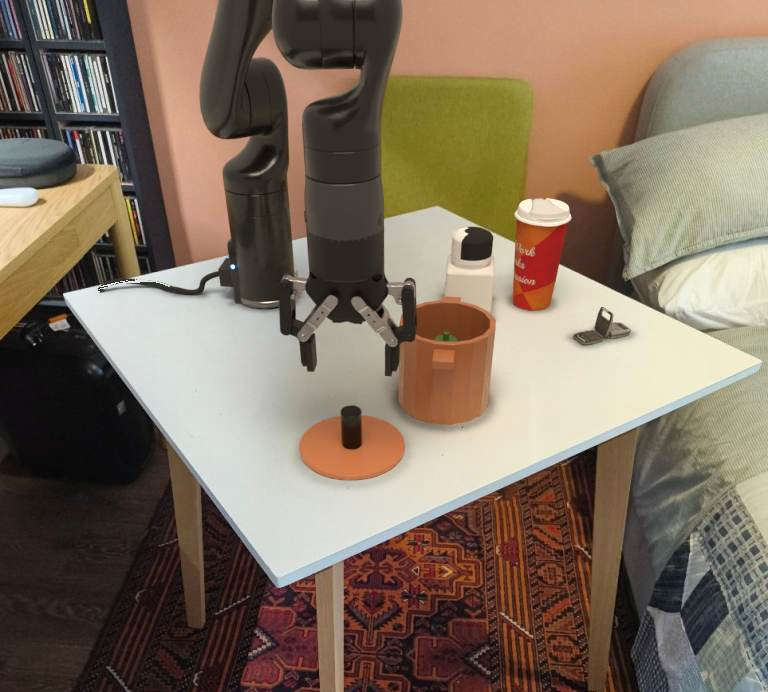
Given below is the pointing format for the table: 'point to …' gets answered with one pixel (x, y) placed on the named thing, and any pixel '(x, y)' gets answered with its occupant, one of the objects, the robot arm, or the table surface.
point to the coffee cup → (538, 251)
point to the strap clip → (603, 329)
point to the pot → (447, 363)
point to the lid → (351, 446)
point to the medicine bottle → (471, 267)
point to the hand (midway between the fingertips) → (350, 370)
